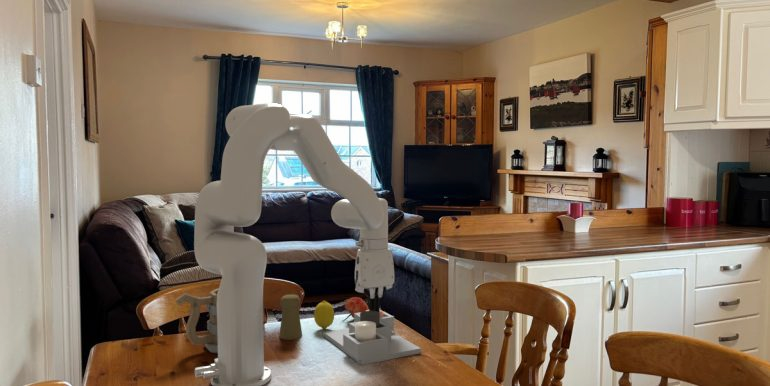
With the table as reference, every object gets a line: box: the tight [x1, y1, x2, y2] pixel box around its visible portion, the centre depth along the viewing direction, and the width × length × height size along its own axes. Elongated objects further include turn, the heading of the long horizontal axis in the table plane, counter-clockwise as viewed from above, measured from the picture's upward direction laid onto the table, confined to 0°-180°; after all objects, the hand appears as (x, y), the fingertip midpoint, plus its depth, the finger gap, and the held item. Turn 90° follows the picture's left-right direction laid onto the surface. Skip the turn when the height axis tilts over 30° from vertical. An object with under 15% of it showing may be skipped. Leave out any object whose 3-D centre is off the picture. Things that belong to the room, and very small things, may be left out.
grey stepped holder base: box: [322, 310, 422, 366], centre depth 144 cm, size 18×23×5 cm
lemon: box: [313, 300, 335, 330], centre depth 156 cm, size 6×6×8 cm
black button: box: [360, 311, 380, 328], centre depth 144 cm, size 5×5×4 cm
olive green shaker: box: [278, 294, 303, 341], centre depth 150 cm, size 6×6×11 cm
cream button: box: [355, 321, 376, 342], centre depth 135 cm, size 5×5×4 cm
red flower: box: [341, 296, 369, 323], centre depth 164 cm, size 7×7×10 cm
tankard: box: [175, 287, 219, 354], centre depth 141 cm, size 20×13×15 cm, turn 122°
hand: (374, 311), depth 153 cm, fingers closed
